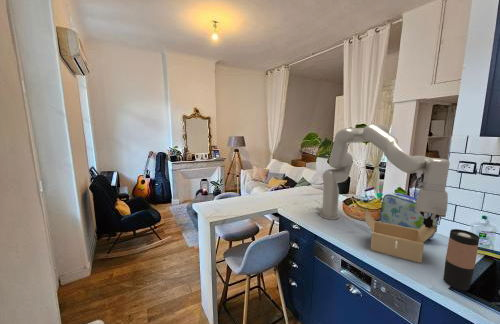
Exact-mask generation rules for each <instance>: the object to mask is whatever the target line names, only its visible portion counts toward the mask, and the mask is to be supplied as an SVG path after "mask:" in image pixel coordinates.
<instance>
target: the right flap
mask: <svg viewBox="0 0 500 324" xmlns="http://www.w3.org/2000/svg"><path fill="white" fill-rule="evenodd" d="M437 231H438V230H437ZM437 231H436V229H435V227H434V225H433V224H432V226H430V228H428V227H425V225H423V226H422V227H421V228H420V229H419V232H420V235H421V238H422V241H423V243H425V242H426V241H427V240H428V238H429V237H431V236H432V235H433V234H434V233H435V234H436V233H437ZM435 234H434V235H435Z"/></svg>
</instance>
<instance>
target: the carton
mask: <svg viewBox="0 0 500 324" xmlns="http://www.w3.org/2000/svg"><path fill="white" fill-rule="evenodd" d="M370 241H371V243H370V248H369V249H370V251H372V252H377V253H380V254H383V255H387V254H388V256H391V255H392V256H391V257H395V256H396V258H399V259H404V260H406V259H407V261H410V260H411V261H410V262H414V263H419V264H422V261H423V254H424V246H425V242H423V241H422V238H421V235H420V232H419V230H417V229H412V228H407V227H402V226H397V225H392V224H387V223H382V222H381V221H376V220H374V229H373V231H372V230H371V240H370Z"/></svg>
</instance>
